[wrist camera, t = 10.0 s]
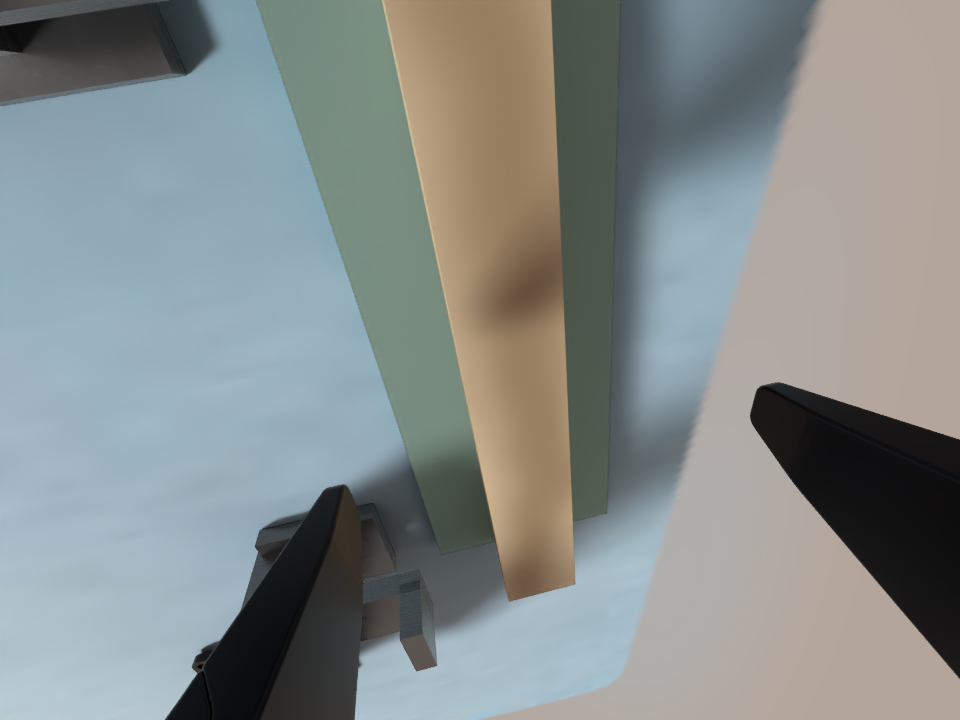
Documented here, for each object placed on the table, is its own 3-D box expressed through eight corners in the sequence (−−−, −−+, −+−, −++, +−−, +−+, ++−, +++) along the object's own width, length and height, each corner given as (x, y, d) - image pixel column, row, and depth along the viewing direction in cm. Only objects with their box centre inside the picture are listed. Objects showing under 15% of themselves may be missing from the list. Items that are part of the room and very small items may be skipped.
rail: (494, 541, 21) (508, 601, 18) (333, -229, 8) (306, -382, 5) (553, 526, 21) (575, 584, 19) (490, -247, 8) (533, -403, 6)
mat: (440, 544, 21) (441, 555, 21) (170, -274, 8) (155, -300, 7) (602, 503, 22) (607, 513, 21) (615, -322, 8) (629, -349, 8)
